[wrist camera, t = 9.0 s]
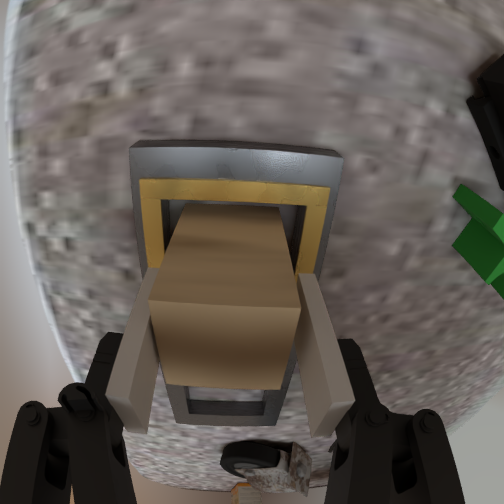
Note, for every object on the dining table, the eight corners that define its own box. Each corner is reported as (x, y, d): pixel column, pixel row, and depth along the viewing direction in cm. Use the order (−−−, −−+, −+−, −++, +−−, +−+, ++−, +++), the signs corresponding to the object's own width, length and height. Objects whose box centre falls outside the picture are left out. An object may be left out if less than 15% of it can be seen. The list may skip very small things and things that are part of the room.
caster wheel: (216, 431, 36) (282, 423, 32) (256, 464, 39) (315, 458, 36) (202, 470, 30) (273, 469, 27) (248, 499, 34) (311, 497, 30)
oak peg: (268, 279, 19) (280, 389, 12) (189, 275, 19) (166, 383, 12) (278, 206, 16) (301, 308, 10) (186, 201, 16) (147, 300, 9)
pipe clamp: (428, 225, 18) (465, 264, 14) (459, 182, 16) (503, 212, 12) (490, 281, 21) (517, 314, 17) (514, 250, 19) (544, 280, 15)
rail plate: (274, 412, 29) (275, 427, 27) (177, 410, 28) (176, 424, 26) (334, 150, 15) (345, 159, 13) (138, 140, 14) (127, 149, 12)
